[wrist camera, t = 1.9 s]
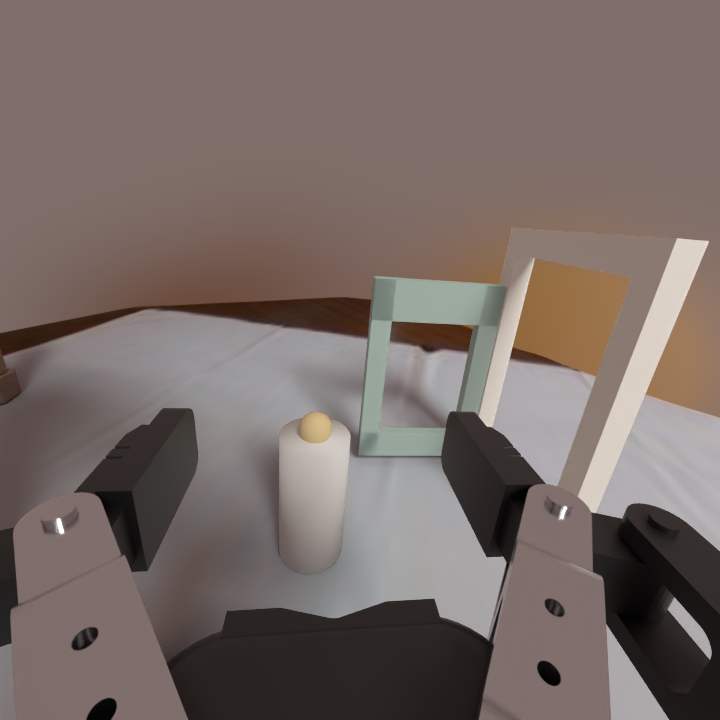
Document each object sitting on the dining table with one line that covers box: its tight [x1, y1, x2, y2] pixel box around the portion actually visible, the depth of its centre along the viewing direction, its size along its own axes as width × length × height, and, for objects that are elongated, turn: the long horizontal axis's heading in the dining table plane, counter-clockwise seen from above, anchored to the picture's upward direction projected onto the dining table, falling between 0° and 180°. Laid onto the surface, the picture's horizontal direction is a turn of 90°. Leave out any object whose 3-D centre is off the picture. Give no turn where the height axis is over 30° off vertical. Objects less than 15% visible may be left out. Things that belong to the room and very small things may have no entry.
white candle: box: [279, 412, 351, 574], centre depth 28 cm, size 5×5×13 cm
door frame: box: [478, 228, 709, 513], centre depth 33 cm, size 4×18×26 cm, turn 6°
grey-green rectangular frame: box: [357, 276, 507, 456], centre depth 39 cm, size 13×3×20 cm, turn 96°
